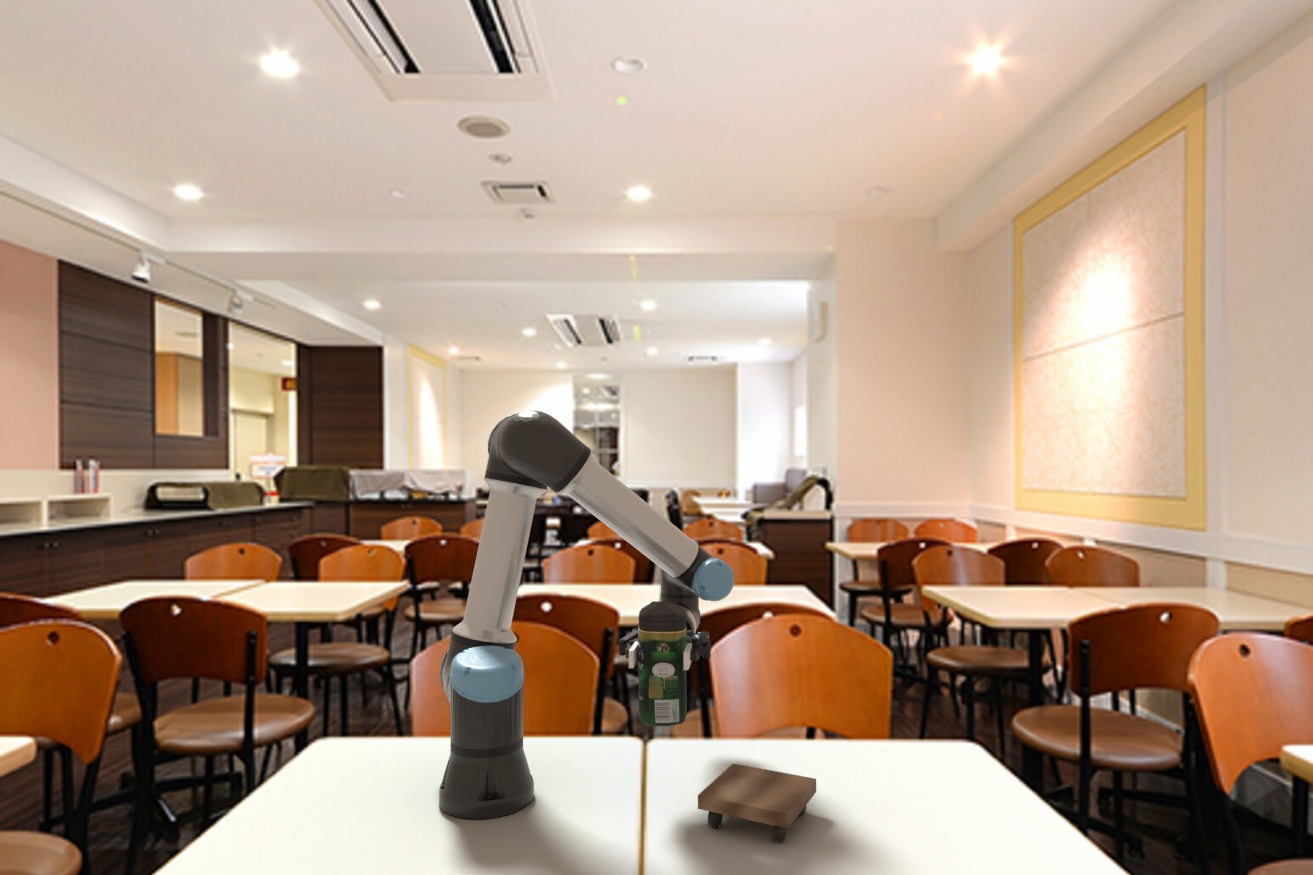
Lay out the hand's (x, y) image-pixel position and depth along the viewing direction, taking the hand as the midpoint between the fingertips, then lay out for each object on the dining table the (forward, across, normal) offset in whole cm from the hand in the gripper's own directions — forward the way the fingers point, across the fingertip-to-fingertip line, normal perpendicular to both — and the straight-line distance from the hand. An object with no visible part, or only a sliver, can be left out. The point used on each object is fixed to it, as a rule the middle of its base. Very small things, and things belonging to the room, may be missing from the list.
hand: (658, 660), depth 124 cm
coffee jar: (-5, 0, -11) cm, 12 cm away
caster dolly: (0, -15, -24) cm, 28 cm away
